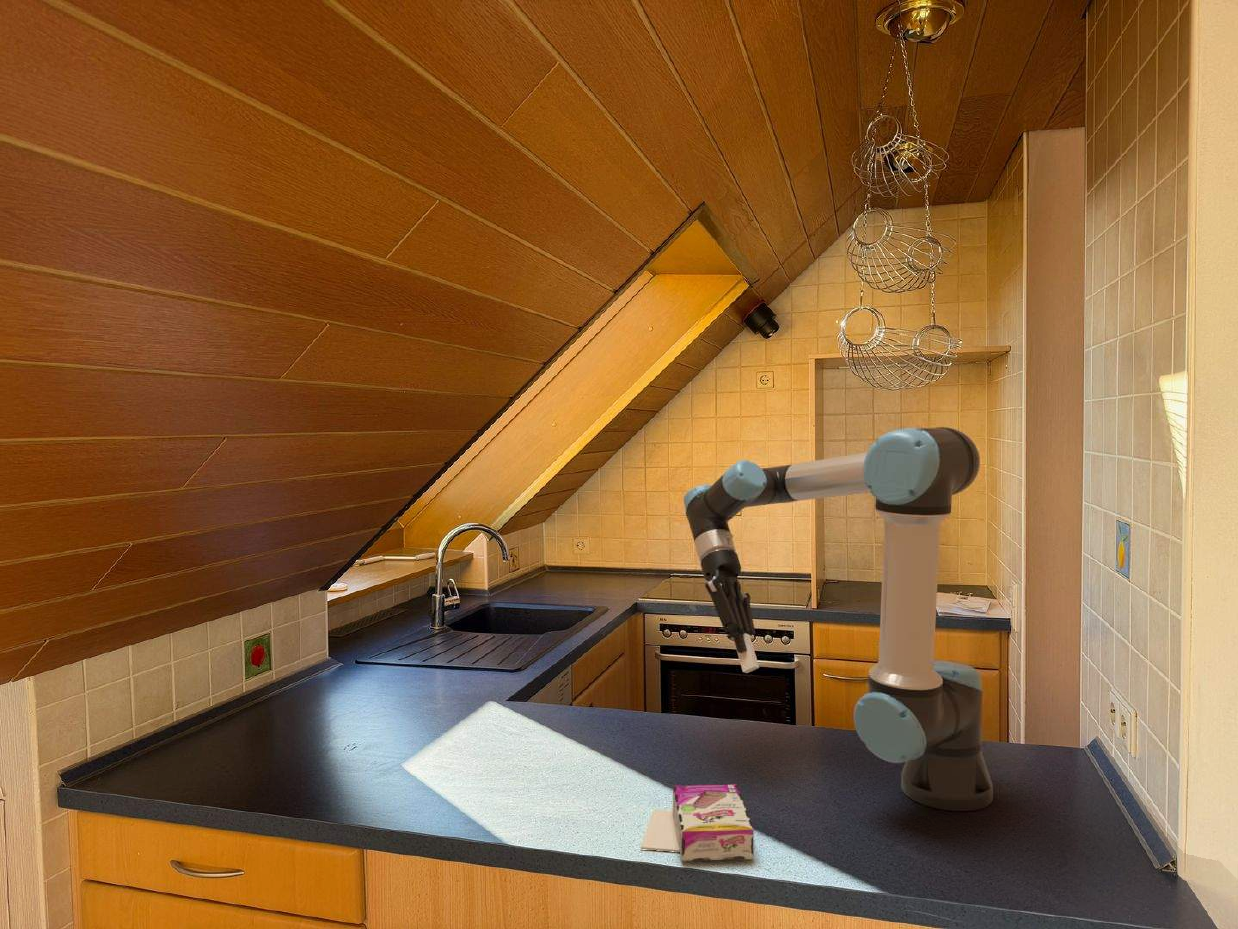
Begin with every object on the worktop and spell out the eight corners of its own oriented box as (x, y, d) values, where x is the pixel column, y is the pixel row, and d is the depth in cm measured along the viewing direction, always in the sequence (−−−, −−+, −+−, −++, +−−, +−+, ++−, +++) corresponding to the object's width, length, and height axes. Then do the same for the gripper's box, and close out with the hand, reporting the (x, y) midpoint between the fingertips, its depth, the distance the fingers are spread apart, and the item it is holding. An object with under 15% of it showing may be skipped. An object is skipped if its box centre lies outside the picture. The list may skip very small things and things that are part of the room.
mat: (653, 812, 144) (653, 809, 144) (748, 818, 141) (748, 815, 141) (640, 850, 131) (640, 847, 131) (744, 858, 128) (744, 855, 128)
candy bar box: (736, 781, 143) (755, 828, 126) (736, 810, 143) (755, 861, 127) (670, 783, 142) (681, 831, 126) (671, 812, 143) (681, 863, 126)
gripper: (715, 539, 160) (749, 655, 147) (750, 558, 169) (785, 668, 156) (684, 556, 164) (714, 671, 150) (720, 573, 173) (752, 683, 159)
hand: (751, 669), depth 153 cm, fingers closed
